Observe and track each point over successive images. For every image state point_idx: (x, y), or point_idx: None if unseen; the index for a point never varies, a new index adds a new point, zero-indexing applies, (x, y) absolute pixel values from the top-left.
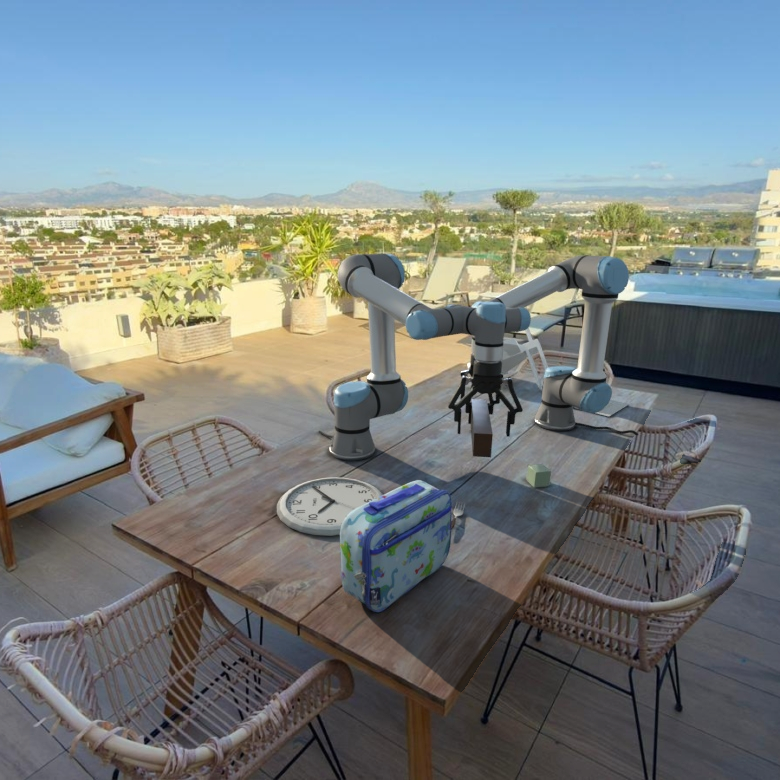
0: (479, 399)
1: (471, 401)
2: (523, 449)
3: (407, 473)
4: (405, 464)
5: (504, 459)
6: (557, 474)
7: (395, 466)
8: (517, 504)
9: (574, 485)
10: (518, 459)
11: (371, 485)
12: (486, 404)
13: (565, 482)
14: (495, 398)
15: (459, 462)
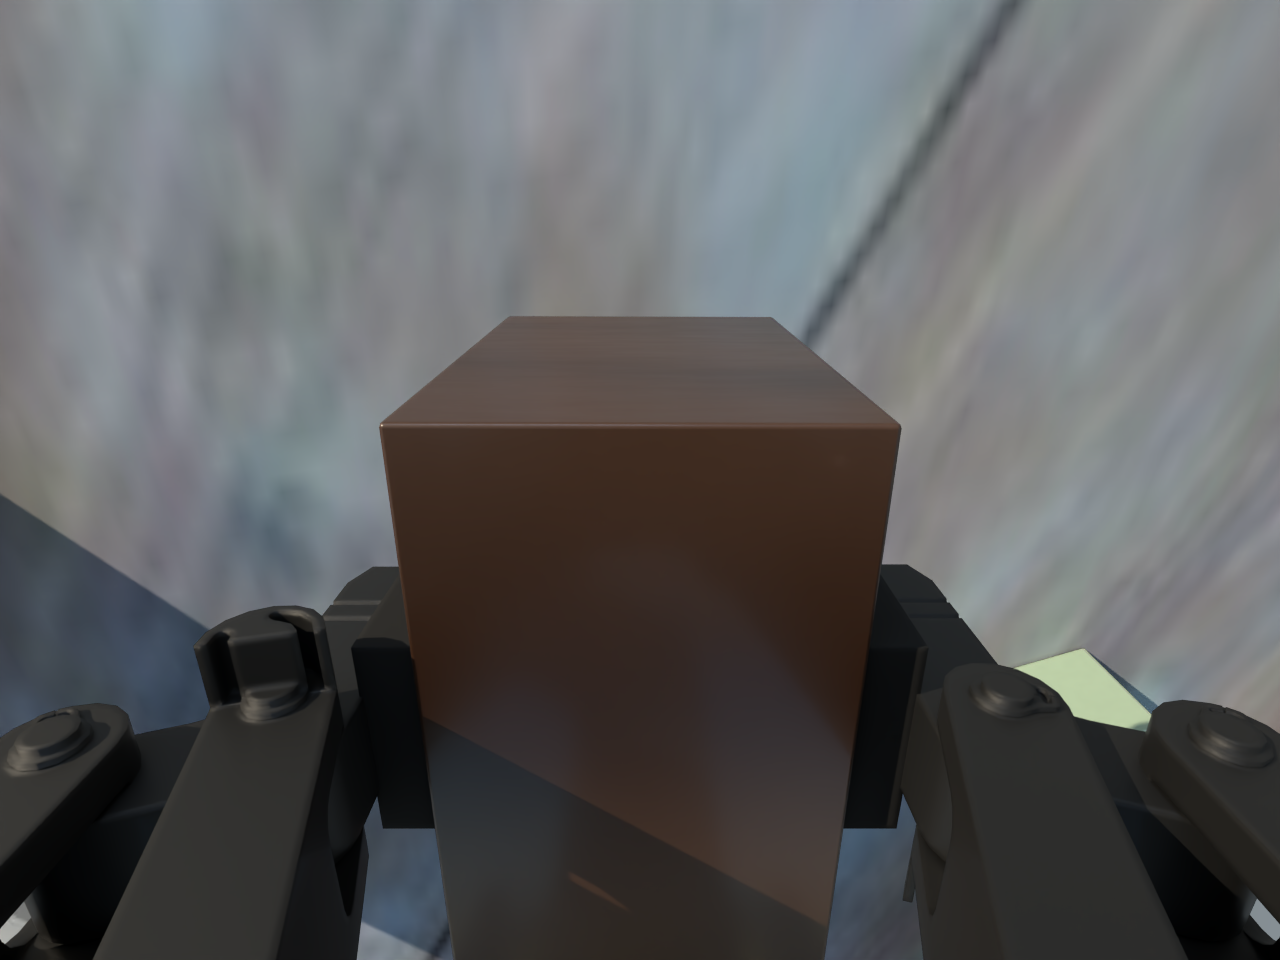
0: (651, 441)
1: (407, 533)
2: (1157, 74)
3: (161, 698)
4: (94, 574)
5: (893, 362)
6: (1237, 569)
7: (36, 615)
8: (837, 921)
9: (1273, 701)
10: (1021, 342)
11: (12, 922)
12: (816, 815)
13: (1233, 672)
14: (1193, 797)
15: None
